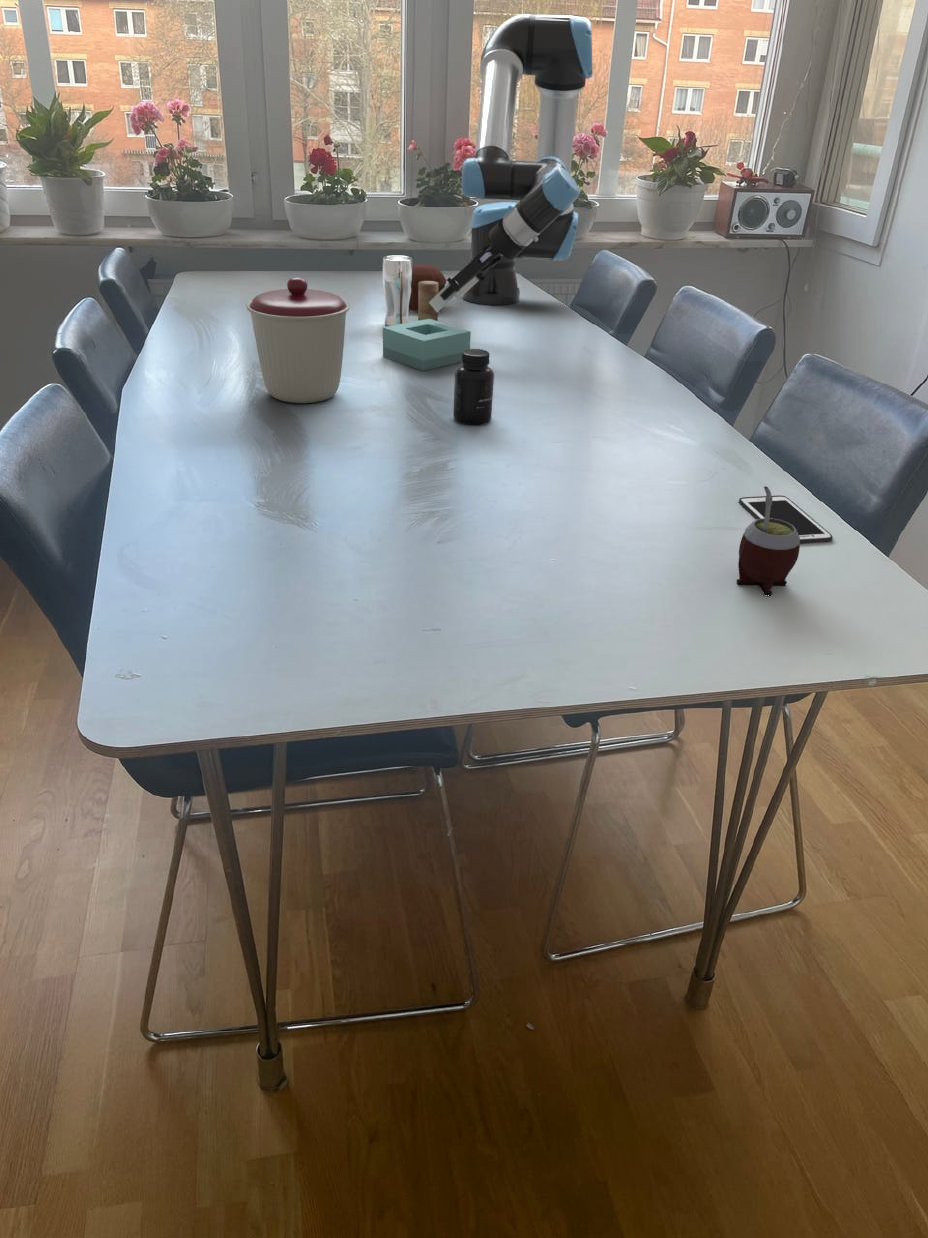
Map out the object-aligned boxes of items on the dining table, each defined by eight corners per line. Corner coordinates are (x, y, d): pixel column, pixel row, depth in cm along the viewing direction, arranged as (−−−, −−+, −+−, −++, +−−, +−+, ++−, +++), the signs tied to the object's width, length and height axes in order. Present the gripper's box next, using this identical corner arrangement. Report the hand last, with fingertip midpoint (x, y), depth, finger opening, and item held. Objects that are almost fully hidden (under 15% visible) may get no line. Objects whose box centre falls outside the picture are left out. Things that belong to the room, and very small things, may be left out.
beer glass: (411, 329, 220) (411, 261, 212) (381, 327, 220) (380, 260, 212) (413, 321, 226) (413, 255, 218) (384, 320, 226) (383, 254, 218)
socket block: (428, 346, 208) (429, 318, 205) (469, 359, 200) (470, 331, 197) (382, 355, 200) (382, 327, 197) (423, 370, 192) (423, 340, 189)
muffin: (394, 303, 242) (394, 262, 237) (434, 300, 246) (435, 260, 241) (412, 313, 233) (412, 271, 228) (453, 311, 237) (454, 269, 232)
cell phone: (783, 500, 143) (784, 494, 142) (834, 544, 131) (835, 537, 130) (736, 503, 141) (737, 497, 141) (783, 547, 129) (784, 541, 129)
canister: (333, 415, 167) (329, 292, 156) (237, 405, 170) (226, 283, 159) (363, 385, 182) (361, 271, 171) (275, 376, 185) (267, 263, 174)
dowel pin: (428, 334, 217) (429, 279, 210) (441, 338, 214) (442, 283, 208) (413, 337, 214) (414, 282, 208) (426, 341, 211) (427, 285, 205)
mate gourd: (779, 571, 122) (805, 462, 114) (800, 602, 115) (829, 488, 108) (722, 570, 122) (744, 460, 114) (739, 601, 115) (764, 486, 107)
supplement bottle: (487, 427, 164) (491, 359, 158) (449, 423, 165) (451, 355, 159) (494, 415, 170) (498, 348, 164) (457, 411, 171) (459, 345, 165)
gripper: (508, 257, 186) (435, 326, 197) (540, 239, 206) (473, 303, 218) (483, 226, 185) (412, 298, 196) (518, 211, 205) (452, 277, 217)
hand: (444, 300), depth 207 cm, fingers open, 13 cm apart
